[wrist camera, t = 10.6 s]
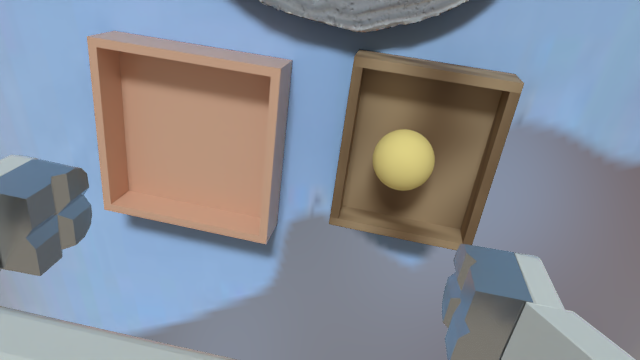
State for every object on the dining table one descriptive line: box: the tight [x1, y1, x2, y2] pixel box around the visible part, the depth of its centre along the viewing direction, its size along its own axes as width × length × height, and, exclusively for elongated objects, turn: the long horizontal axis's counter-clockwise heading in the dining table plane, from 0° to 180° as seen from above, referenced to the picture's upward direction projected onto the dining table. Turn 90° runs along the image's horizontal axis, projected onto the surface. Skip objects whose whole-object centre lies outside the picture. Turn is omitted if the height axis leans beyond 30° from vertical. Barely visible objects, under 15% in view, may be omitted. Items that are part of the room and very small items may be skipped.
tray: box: [329, 49, 524, 250], centre depth 31 cm, size 10×12×3 cm
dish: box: [87, 31, 292, 244], centre depth 33 cm, size 13×13×3 cm
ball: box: [373, 129, 435, 191], centre depth 30 cm, size 4×4×4 cm
